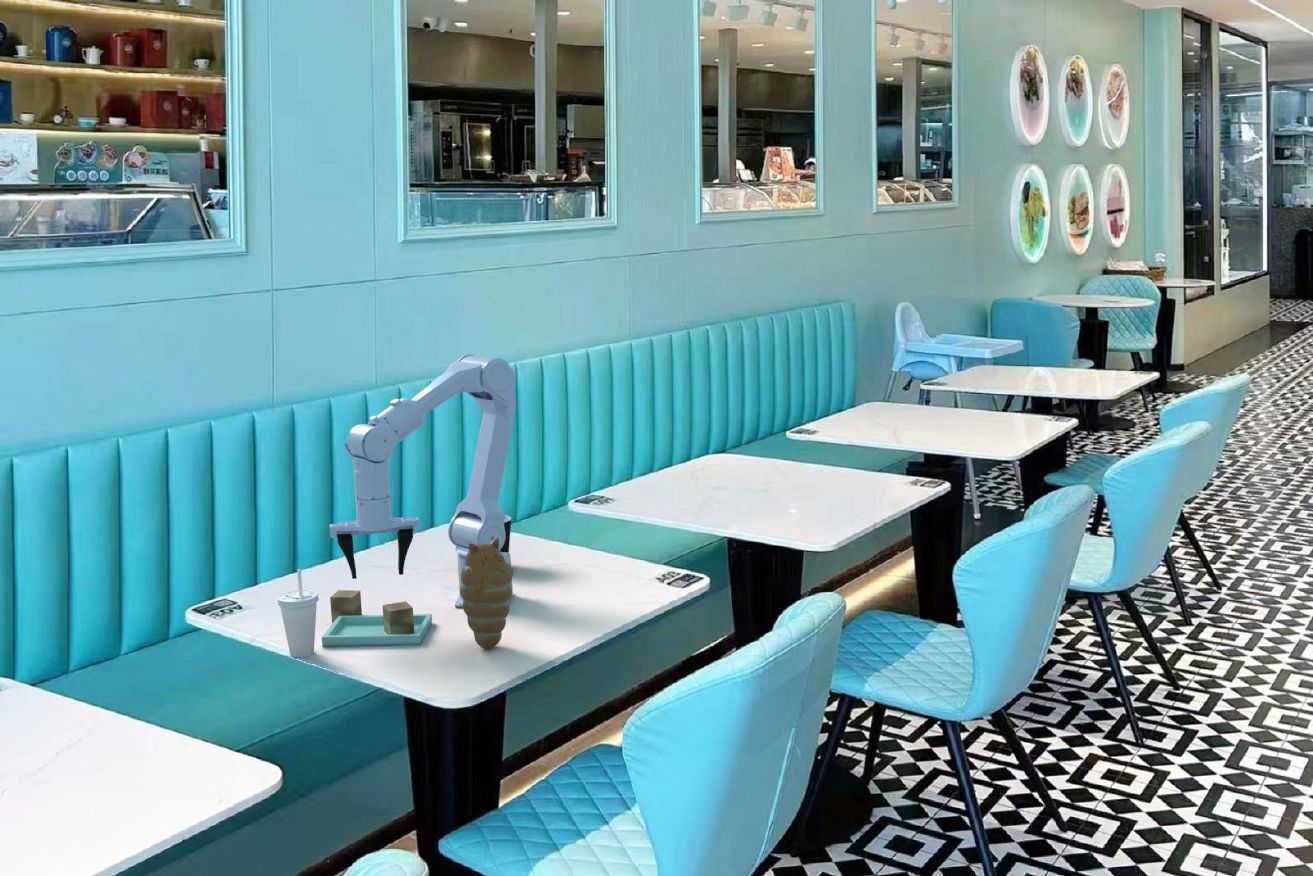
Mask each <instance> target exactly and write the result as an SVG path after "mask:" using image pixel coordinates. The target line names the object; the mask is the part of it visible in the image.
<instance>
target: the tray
mask: <svg viewBox="0 0 1313 876" xmlns="http://www.w3.org/2000/svg"><path fill="white" fill-rule="evenodd" d="M413 619H414V634H389V635H388V634H387V633H386V632H385V631H384V620H383V614H370V615H369V614H368V615H366V614H362V615H353V616H338V617H337V618H336V620H335V621H334V622H332V623H331V624H330V626H329V628H328V629H326V631H325V632H324V633H323V635H322V636H321V645H322V647H323V648H324V647H330V648H331V647H376V645H377V646H378V647H379V646H381V647H382V646H383V647H384V646H385V647H386V646H421V644H422V643H423V641H424V639H425V637H426V635H427V633H428V632H429V630H430V628H431V626H432V624H433V614H432V613H426V614H423V613H420V614H417V613H416V614H414V613H413Z"/></svg>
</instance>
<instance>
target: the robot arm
mask: <svg viewBox="0 0 1313 876" xmlns="http://www.w3.org/2000/svg"><path fill="white" fill-rule="evenodd" d="M516 377H517V374H516V372H515V371H514V369H513V368H512V367H511V365H510V364H509V362H508V361H507V360H505V359H503V358H501V357H485V356H478V355H477V356H476V355H474V354H464V355H462V356H461V357H460V358H458V360H455V361H453V362H451V363H450V364H449V366H448V367H447V369H446V370H445V371H444V372H443V373H442V374H440V375H439V376H438V377H437V378H435V379H434V380H433V381H432V382H431V383H429V384H428V385H427V386H426V387H424V388H423V389H422V390H421V391H420V392H419V393H417V394H416V395H415V396H413V398H411V399H409V398H406V397H402V398H401V397H400V399H399V398H394V399H392V400H391V401H390V402H389V403H390V406H388V407H387V408H386V409H385V410H383V411H381V412H380V413H379V414H377V415H372V416H370V417H369V418H368V420H369V421H368V422H367V423H366V424H365V423H363V424H362V423H359V424H357V425H355V426H353V427H352V428H351V429H350V431H349V433H348V434H347V437H346V441H345V442H343V446H344V449H345V451H346V452H347V454H348V455H349V456H350V458H351V465H352V468H353V469H352V472H353V484H354V485H353V486H354V498H355V499H354V500H355V511H356V515H355V516H356V519H355V520H352V521H351V520H350V521H343V522H339V523H337V522H336V523H331V524H329V535H330V536H329V537H330V539H334V538H335V539H336V538H337V544H338V546H339V548H340V549H341V551H342V553H343V555H344V557H345V559H346V561H347V564H348V567H349V569H350V573H351V578H352V579H353V580H354V579H355V580H357V567H356V562H355V551H354V540H353V538H354V537H353V536H359V535H372V534H373V535H374V534H386V533H397V534H396V535H397V548H398V553H397V554H398V555H397V556H398V559H397V560H398V561H397V563H398V564H397V567H398V569H397V570H398V575H399V576H401V575H404V570H405V569H404V568H405V562H406V558H407V554H408V551H409V549H410V546H411V543H412V542H413V538H414V532H420V521H419V520H420V519H419V517H417V516H416V517H392V503H391V501H392V500H391V489H390V487H391V486H390V470H389V458H391V456H392V455H393V453H394V450H395V447H396V445H397V444H399V443H401V441H403V440H404V439H406V438H407V437H408V436H410V435H411V434H412V433H413V432H415V431H416V430H418V429H419V428H420V427H422V426H423V423H424V417H425V415H426V414H428V413H430V412H431V411H433V410H435V409H436V408H437V407H439V406H440V405H441V406H442V404H443V403H445V402H447V401H448V400H450V399H451V398H453V397H454V396H456V395H457V394H459V393H467V394H468V395H469V396H471V397H472V398H473V399H474V400H475V401H476V402H477V404H478V405H479V407H480V408H481V410H482V418H481V421H480V422H481V423H480V427H479V432H478V437H477V438H478V440H477V443H476V444H477V445H476V447H475V448H476V449H475V454H474V459H473V465H472V470H471V475H470V478H469V479H470V481H469V484H468V489H467V490H468V491H467V494H466V495H467V496H466V497H465V498H464V499H463V500H461V502H459V503H458V504H457V505H456V510H455V514H454V516H453V517H452V518H451V520H450V522H449V525H448V527H447V535H448V538H449V541H450V542H451V543H452V544H453V545H454V547H455V552H456V554H457V569H458V570H457V572H458V587H459V588H458V589H459V592H458V593H459V594H458V597H457V599H456V601H455V603H454V607H455V608H463V601H464V600H463V598H462V597H461V595H460V588H461V585H462V582H461V572H462V570H463V568H464V567H465V560H466V556H467V553H468V552H469V543H471V544H475V545H477V544H490V543H491V542H492V541H494V540H495V539H496V538H498V539H499V552H500V549H501V548H502V547H503V545H504V542H505V538H506V533H505V528H504V521H505V515H506V514H505V513H504V511H503V509H502V507H501V506H500V504H499V502H498V501H499V496H500V491H501V487H502V486H501V485H502V480H503V475H504V470H505V465H506V460H507V455H508V449H509V444H510V440H511V439H510V438H511V436H512V435H511V433H512V427H513V424H514V420H515V419H514V417H515V415H516V414H515V413H516V408H517V407H516V405H517V403H516V402H517V401H516V395H515V389H514V387H515V382H516ZM478 515H479V516H480V517H478ZM500 553H501V554H502V556H503V557H504V559H505V562H506V563H508V564H510V565H511V566H512V559H511V557H512V556H511V554H510V552H509V553H507V552H500ZM512 580H513V579H512ZM512 580H511V582H510V586H511V588H512V595H511V597H510V599H509V600H508V604H509V605H510V601H511V599H512V596H513V593H514V592H513V586H514V585H513V581H512Z"/></svg>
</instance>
